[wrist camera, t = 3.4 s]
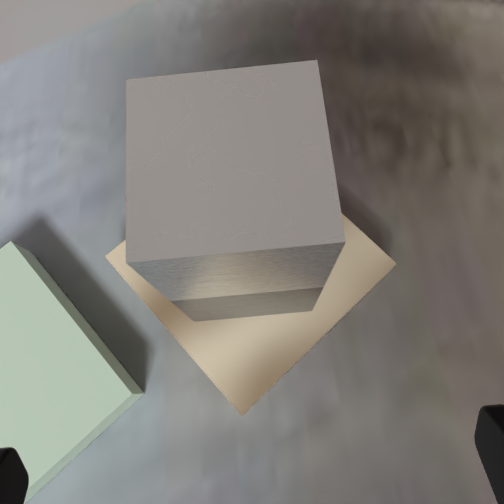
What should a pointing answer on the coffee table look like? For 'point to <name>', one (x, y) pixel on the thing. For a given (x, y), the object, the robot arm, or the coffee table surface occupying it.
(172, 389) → the coffee table surface
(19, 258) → the stand
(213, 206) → the block
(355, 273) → the stand
